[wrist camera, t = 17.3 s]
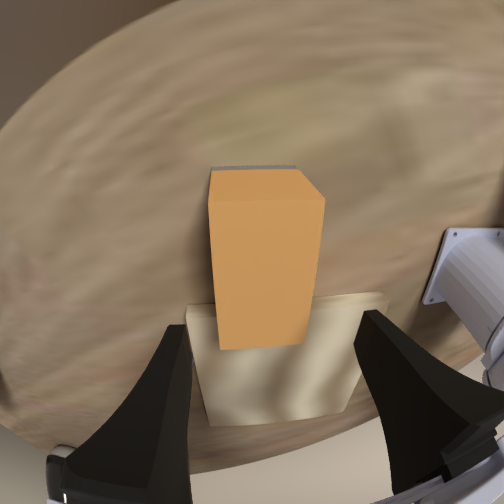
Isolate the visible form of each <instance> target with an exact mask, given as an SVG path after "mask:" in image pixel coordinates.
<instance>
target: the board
mask: <svg viewBox="0 0 504 504" xmlns="http://www.w3.org/2000/svg"><path fill="white" fill-rule="evenodd" d="M388 304H389V300H388V299H387V297H386V296H385V294H384V293H383V291H374V292H365V293H355V294H345V295H334V296H323V297H312V303H311V309H310V315H309V321H308V327H307V332H306V338H305V343H304V344H296V345H286V346H275V347H263V348H248V349H231V350H220V343H219V334H218V324H217V313H216V304H193V305H187V312H186V321H187V327H188V332H189V337H190V342H191V347H192V352H193V357H194V361H195V366H196V370H197V375H198V379H199V384H200V388H201V392H202V396H203V400H204V405H205V409H206V413H207V416H208V420H209V424H210V427H221V426H241V425H255V424H266V423H276V422H284V421H292V420H299V419H306V418H313V417H319V416H324V415H330V414H335V413H340V412H343V411H344V409H345V407H346V405H347V403H348V401H349V399H350V396H351V394H352V392H353V390H354V388H355V386H356V384H357V382H358V379H359V377H360V375H361V373H362V371H361V369H360V366H359V363H358V360H357V357H356V353H355V349H354V346H353V343H354V340H355V337H356V334H357V331H358V328H359V325H360V322H361V318H362V315H363V312H364V311H366V310H374V309H377V310H378V311H379V312H381V313H382V314H383V315H384V316H385V313H386V310H387V307H388Z"/></svg>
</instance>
